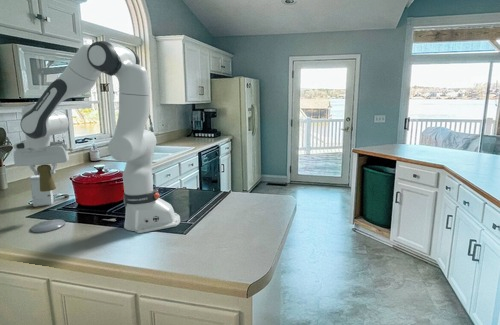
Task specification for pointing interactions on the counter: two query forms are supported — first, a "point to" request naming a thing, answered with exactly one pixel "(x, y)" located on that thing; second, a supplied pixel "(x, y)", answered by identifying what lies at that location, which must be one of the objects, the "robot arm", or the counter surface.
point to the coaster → (48, 226)
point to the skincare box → (40, 193)
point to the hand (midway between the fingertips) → (45, 174)
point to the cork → (45, 178)
